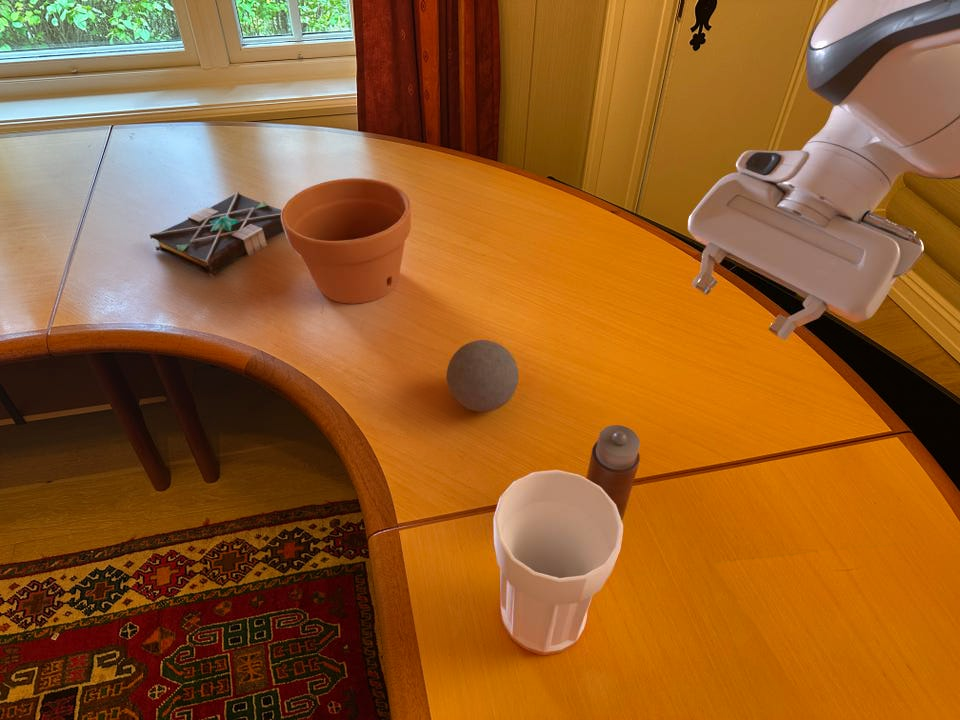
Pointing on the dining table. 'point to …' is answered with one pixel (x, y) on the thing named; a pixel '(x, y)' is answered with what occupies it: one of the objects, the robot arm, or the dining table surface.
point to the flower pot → (350, 236)
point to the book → (221, 233)
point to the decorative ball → (482, 376)
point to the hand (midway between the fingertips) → (735, 311)
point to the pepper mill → (615, 463)
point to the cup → (553, 556)
